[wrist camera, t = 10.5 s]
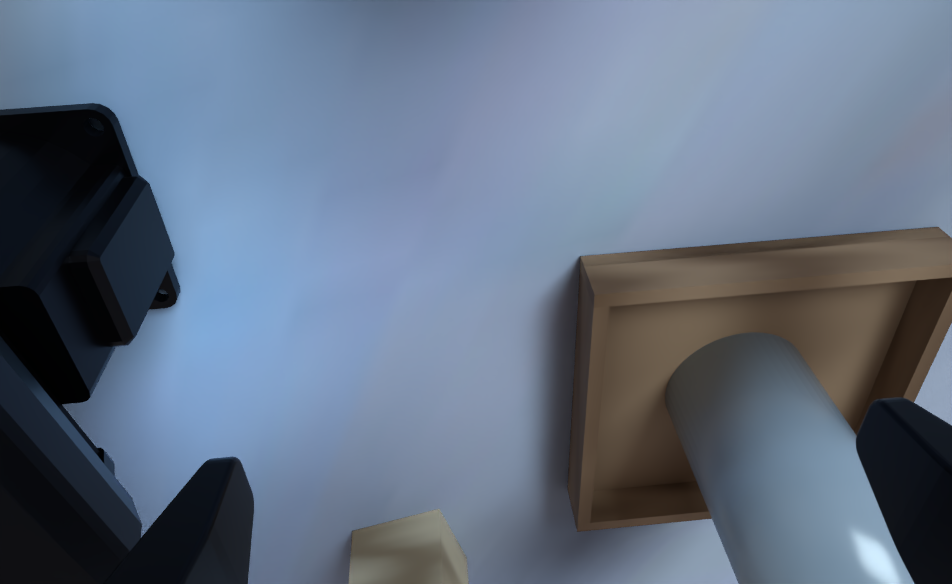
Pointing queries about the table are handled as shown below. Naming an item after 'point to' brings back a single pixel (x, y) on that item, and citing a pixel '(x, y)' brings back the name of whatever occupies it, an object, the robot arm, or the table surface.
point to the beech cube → (408, 552)
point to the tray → (728, 313)
